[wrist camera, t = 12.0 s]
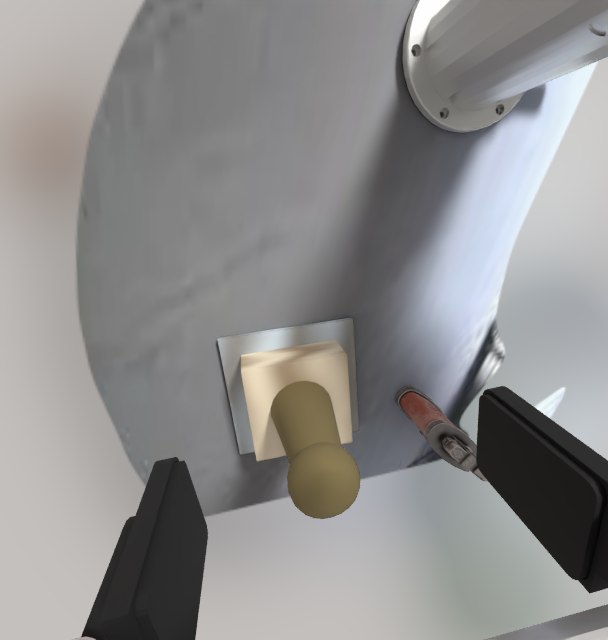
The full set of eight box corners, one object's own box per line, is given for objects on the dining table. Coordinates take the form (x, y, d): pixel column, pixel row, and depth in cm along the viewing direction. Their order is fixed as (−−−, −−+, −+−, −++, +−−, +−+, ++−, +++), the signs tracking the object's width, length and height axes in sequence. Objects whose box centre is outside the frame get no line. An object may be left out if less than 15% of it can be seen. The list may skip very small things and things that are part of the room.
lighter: (388, 401, 40) (434, 459, 31) (408, 380, 40) (460, 432, 30) (430, 433, 43) (483, 496, 33) (449, 414, 42) (508, 473, 33)
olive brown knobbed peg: (326, 435, 34) (363, 531, 24) (267, 434, 33) (279, 536, 23) (336, 382, 33) (380, 461, 22) (274, 379, 31) (291, 461, 21)
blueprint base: (351, 317, 36) (366, 332, 31) (357, 427, 40) (371, 453, 36) (217, 337, 34) (214, 356, 30) (240, 451, 38) (239, 481, 34)
